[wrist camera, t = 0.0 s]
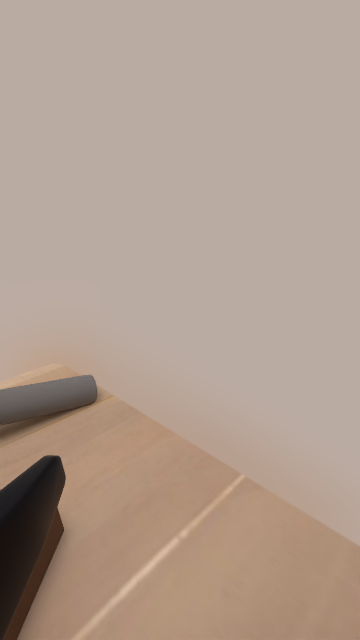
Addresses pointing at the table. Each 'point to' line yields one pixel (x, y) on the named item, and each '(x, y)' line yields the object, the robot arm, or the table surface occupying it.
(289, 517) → the table surface
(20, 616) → the square frame
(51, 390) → the tv remote
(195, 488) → the table surface
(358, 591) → the table surface
